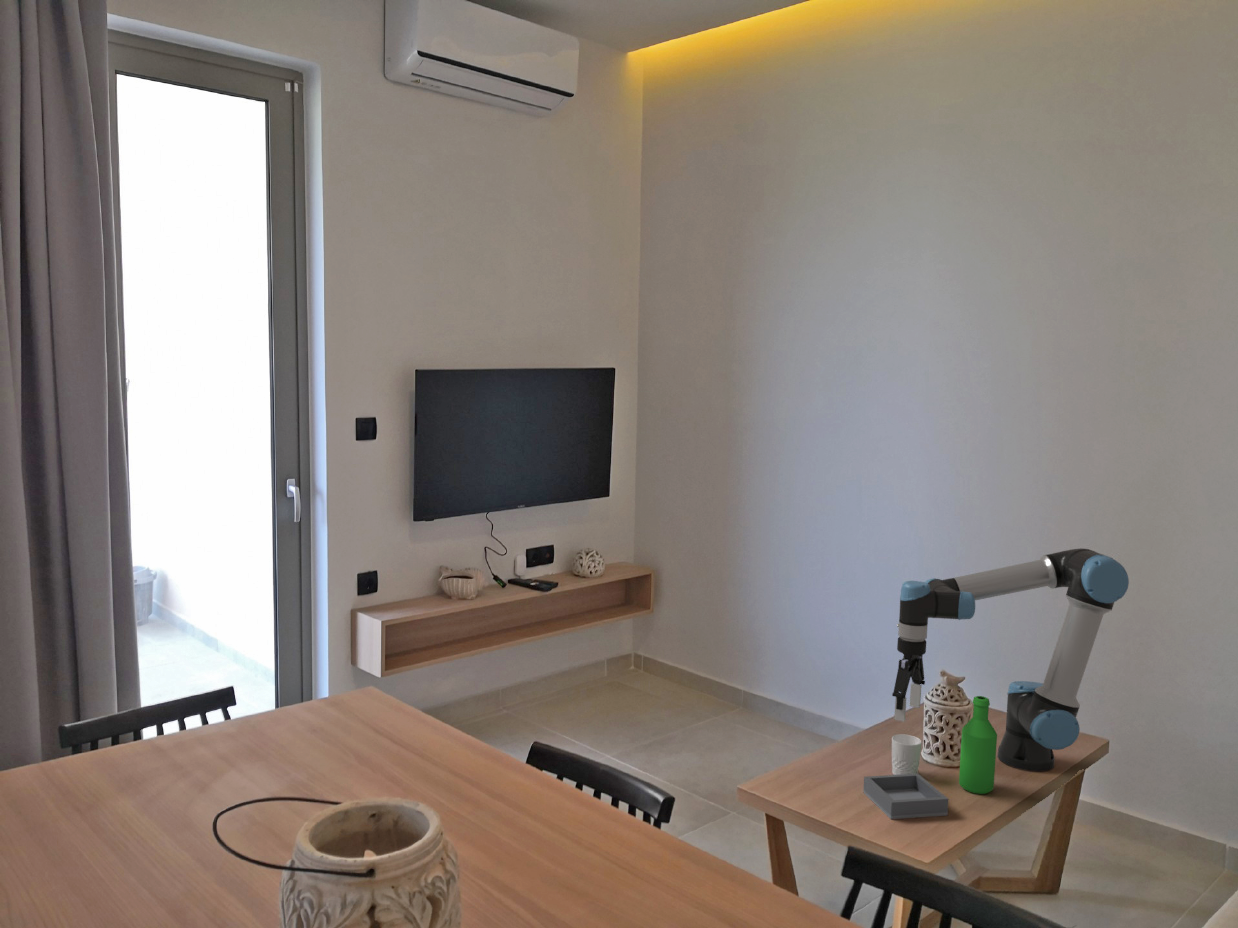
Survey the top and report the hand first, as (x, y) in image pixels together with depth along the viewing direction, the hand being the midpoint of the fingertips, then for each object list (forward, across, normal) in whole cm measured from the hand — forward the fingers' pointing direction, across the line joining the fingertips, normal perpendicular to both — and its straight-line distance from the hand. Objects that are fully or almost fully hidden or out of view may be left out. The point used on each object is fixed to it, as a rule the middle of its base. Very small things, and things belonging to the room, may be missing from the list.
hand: (907, 713), depth 260 cm
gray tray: (+17, +18, +6) cm, 26 cm away
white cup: (+18, 0, 0) cm, 18 cm away
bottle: (+17, -3, +19) cm, 26 cm away
